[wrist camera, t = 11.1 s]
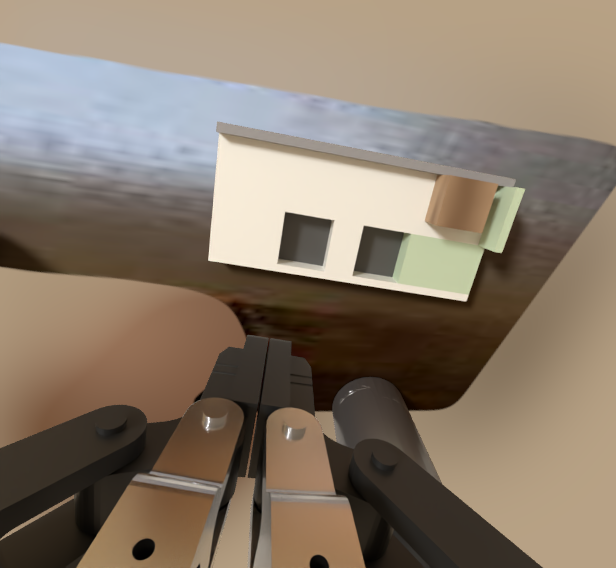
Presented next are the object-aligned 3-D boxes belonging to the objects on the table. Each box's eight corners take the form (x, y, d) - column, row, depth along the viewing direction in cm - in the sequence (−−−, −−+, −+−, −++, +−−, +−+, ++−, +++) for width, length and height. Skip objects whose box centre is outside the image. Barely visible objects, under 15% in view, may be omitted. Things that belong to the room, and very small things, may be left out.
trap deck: (494, 178, 35) (528, 179, 30) (456, 293, 39) (480, 312, 34) (225, 126, 33) (212, 118, 28) (214, 254, 37) (200, 268, 32)
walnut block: (481, 182, 33) (498, 184, 30) (466, 228, 34) (482, 233, 32) (437, 174, 33) (450, 175, 30) (424, 221, 34) (436, 225, 31)
